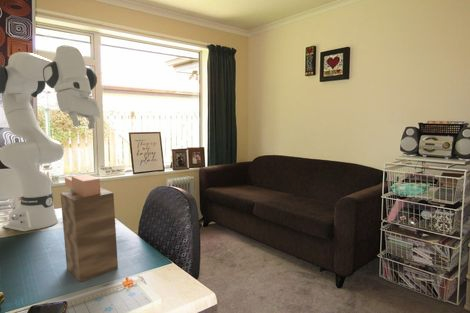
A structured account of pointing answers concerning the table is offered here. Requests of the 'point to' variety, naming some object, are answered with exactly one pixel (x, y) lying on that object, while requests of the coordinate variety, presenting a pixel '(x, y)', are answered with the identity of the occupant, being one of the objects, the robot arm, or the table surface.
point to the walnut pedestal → (89, 233)
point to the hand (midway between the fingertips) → (85, 127)
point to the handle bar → (84, 185)
